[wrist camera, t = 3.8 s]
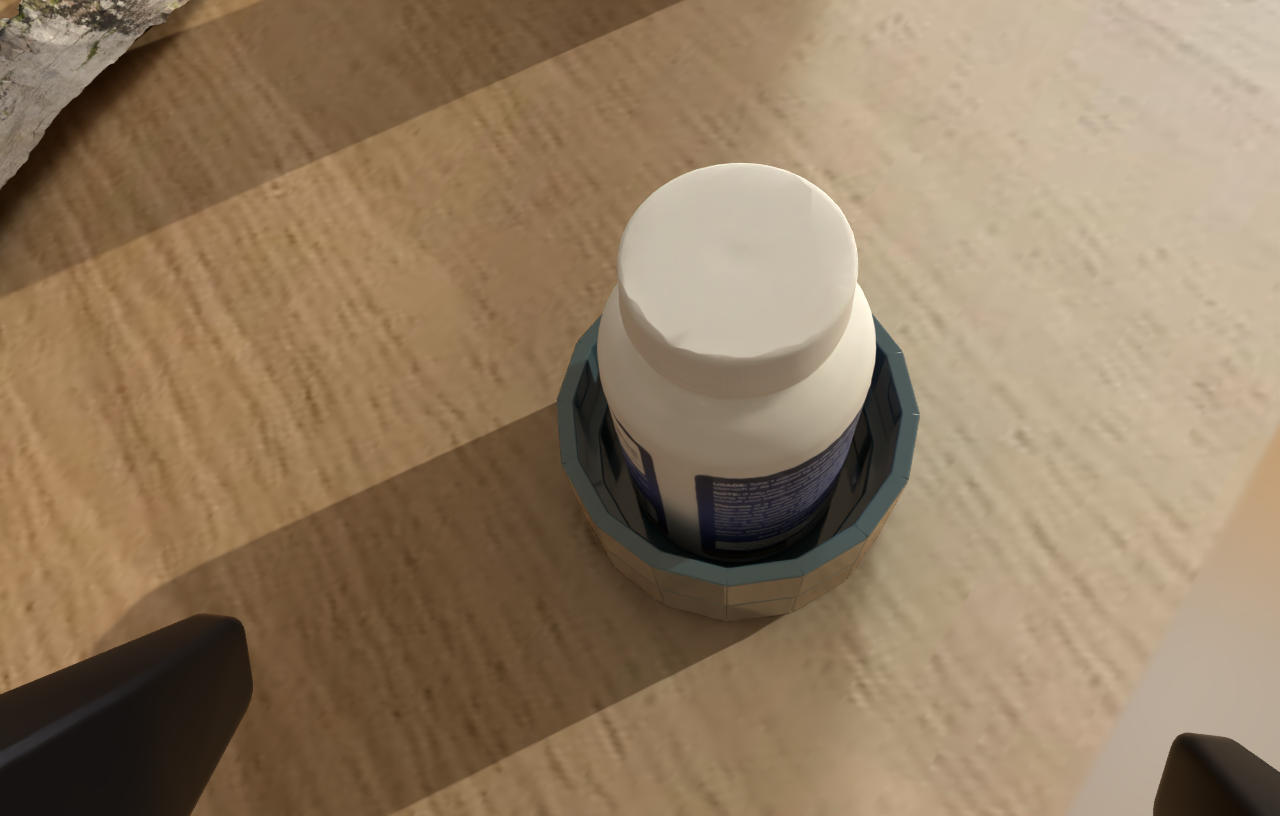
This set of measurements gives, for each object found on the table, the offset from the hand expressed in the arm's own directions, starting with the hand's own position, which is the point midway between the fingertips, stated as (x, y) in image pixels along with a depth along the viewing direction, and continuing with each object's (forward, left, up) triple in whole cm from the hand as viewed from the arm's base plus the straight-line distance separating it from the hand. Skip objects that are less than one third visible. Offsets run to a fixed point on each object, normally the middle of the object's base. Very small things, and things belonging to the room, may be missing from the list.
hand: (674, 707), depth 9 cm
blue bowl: (+4, -6, -13) cm, 15 cm away
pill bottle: (+4, -6, -13) cm, 15 cm away
